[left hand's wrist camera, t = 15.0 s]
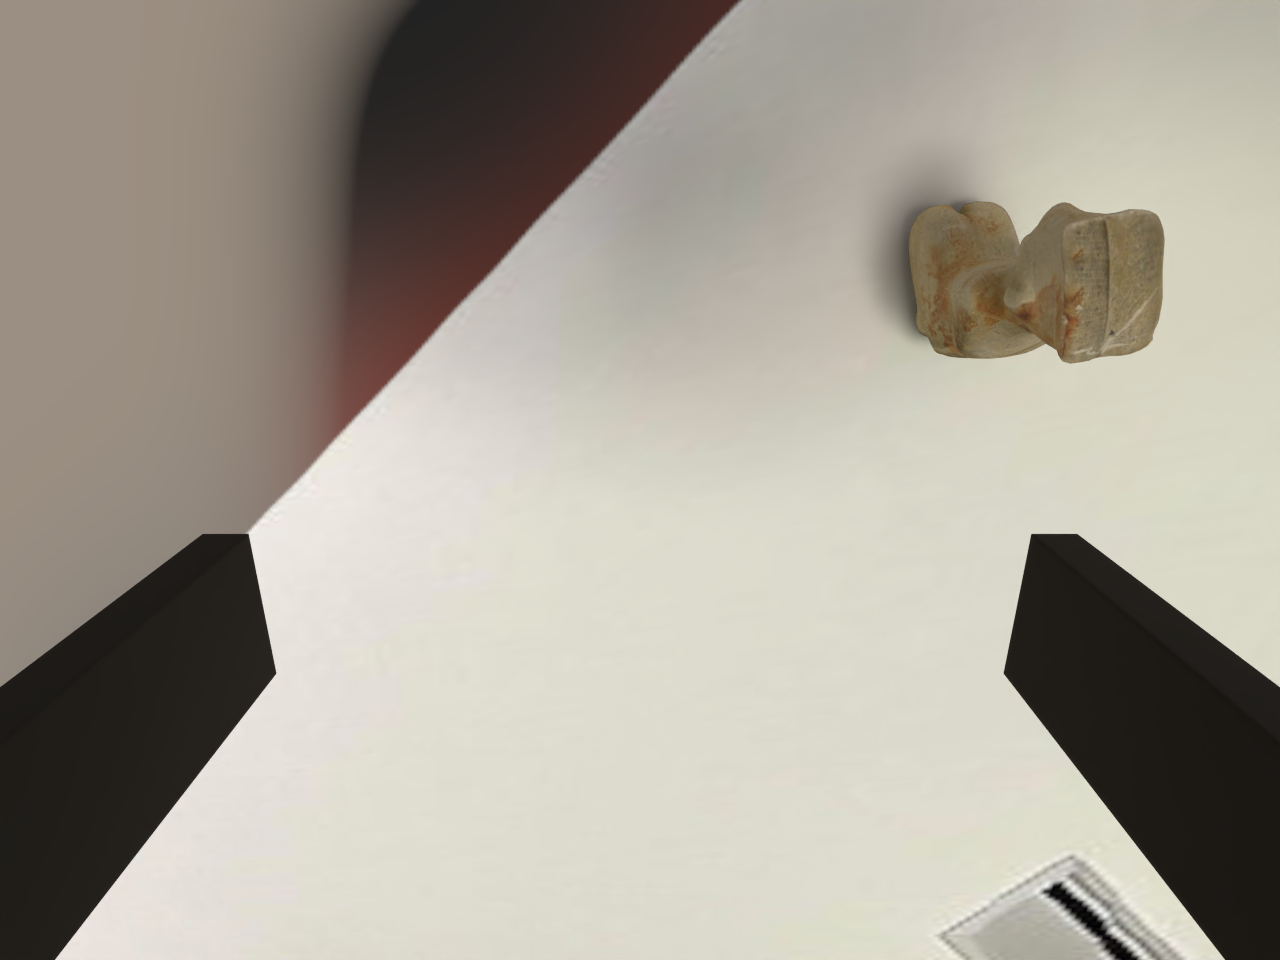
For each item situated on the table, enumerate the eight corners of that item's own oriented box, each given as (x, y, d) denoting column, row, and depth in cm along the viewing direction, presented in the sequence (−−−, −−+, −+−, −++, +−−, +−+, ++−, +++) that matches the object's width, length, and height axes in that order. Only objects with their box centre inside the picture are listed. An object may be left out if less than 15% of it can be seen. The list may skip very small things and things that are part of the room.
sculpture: (1008, 197, 38) (1224, 193, 24) (996, 339, 41) (1185, 411, 26) (892, 207, 38) (1040, 209, 24) (888, 347, 41) (1019, 423, 27)
